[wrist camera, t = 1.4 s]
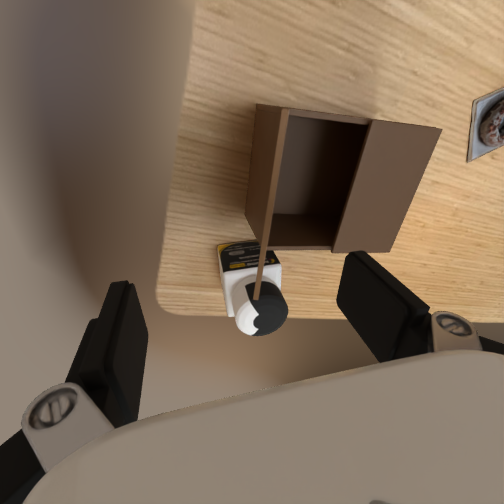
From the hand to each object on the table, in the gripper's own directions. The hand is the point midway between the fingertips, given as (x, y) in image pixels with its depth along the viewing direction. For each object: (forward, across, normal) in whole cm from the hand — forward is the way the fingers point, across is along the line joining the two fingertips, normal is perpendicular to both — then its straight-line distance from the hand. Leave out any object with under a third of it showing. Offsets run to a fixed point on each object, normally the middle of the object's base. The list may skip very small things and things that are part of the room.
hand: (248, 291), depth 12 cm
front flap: (+9, -4, 0) cm, 10 cm away
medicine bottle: (+23, -4, +14) cm, 27 cm away
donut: (+23, -40, -4) cm, 46 cm away
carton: (+23, -13, +1) cm, 26 cm away
